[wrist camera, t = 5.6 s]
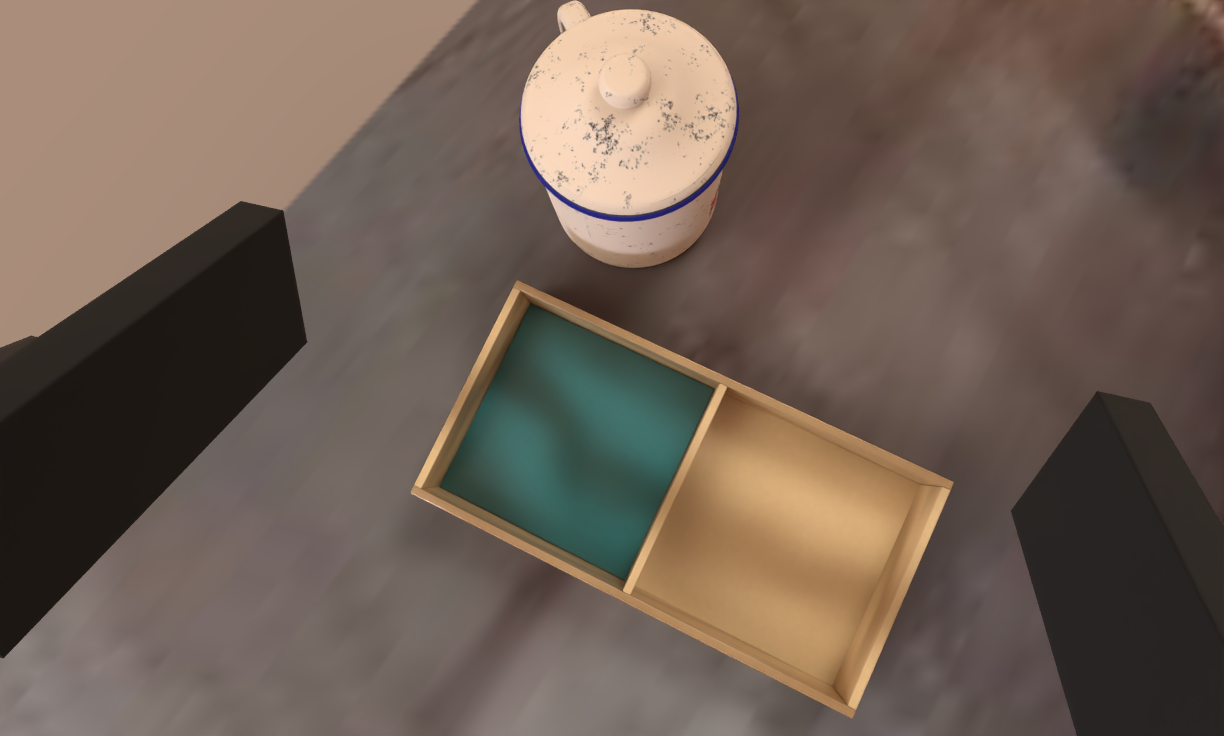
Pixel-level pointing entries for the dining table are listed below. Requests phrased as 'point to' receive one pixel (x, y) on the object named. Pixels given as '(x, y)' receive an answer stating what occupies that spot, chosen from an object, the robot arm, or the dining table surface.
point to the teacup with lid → (629, 132)
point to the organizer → (686, 495)
